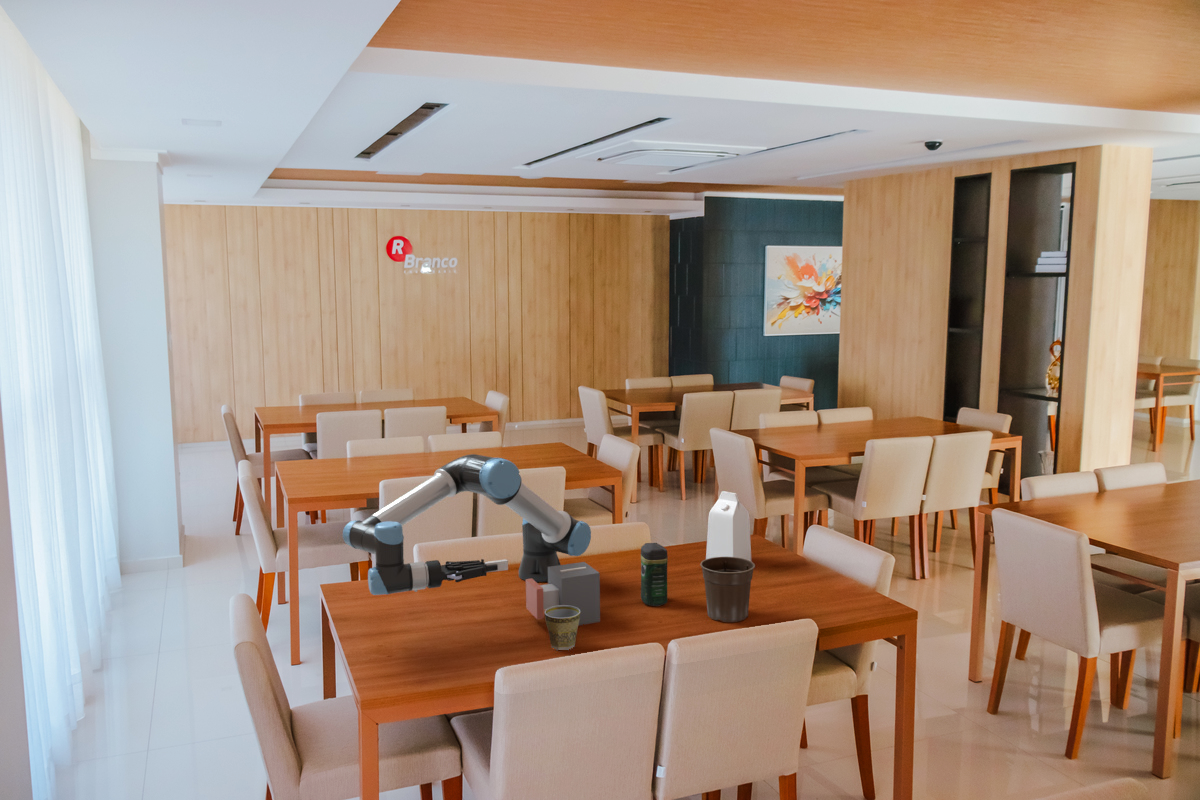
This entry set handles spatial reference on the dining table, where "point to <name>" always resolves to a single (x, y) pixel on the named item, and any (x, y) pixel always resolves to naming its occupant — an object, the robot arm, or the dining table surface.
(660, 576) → the coffee jar
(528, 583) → the pink piece
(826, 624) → the dining table surface
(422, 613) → the dining table surface
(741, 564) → the plant pot
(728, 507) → the milk
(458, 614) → the dining table surface
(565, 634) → the ceramic cup
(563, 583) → the press housing
